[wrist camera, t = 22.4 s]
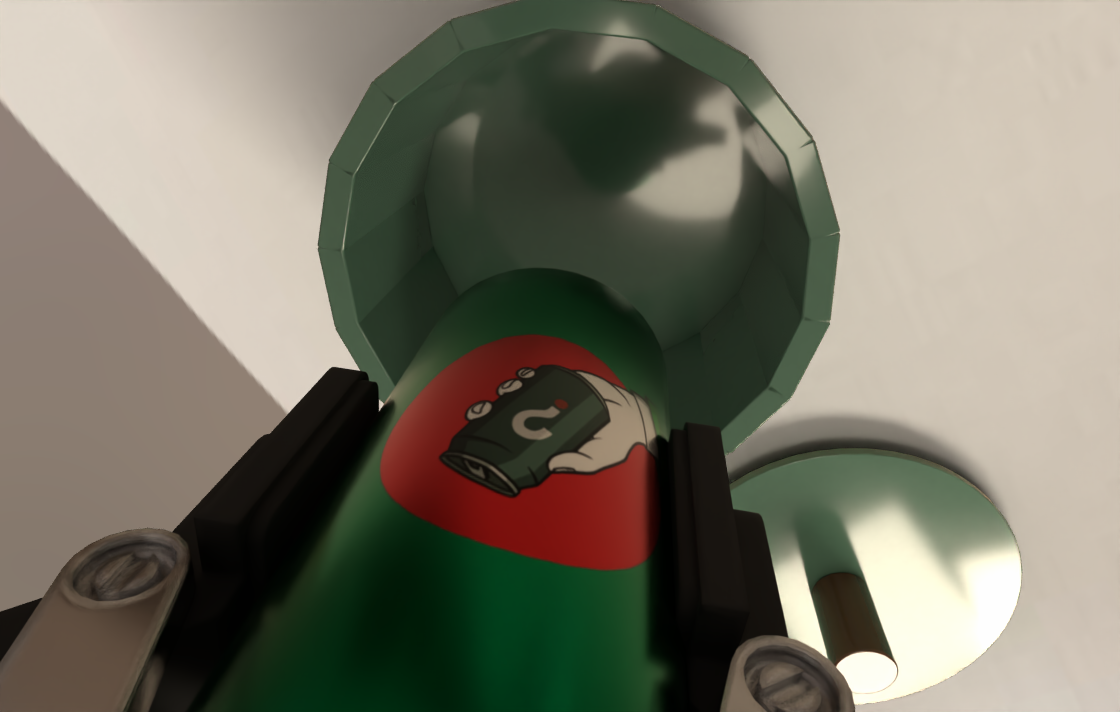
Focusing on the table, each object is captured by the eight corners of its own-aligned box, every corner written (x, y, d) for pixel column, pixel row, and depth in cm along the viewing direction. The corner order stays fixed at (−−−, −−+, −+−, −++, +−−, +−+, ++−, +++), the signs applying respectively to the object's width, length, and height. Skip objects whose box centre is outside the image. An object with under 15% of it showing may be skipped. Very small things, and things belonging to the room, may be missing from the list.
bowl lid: (706, 414, 31) (716, 491, 26) (1070, 471, 30) (1154, 563, 25) (647, 658, 38) (646, 756, 33) (941, 710, 37) (986, 819, 32)
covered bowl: (411, -23, 25) (302, -39, 17) (835, 29, 24) (920, 36, 16) (407, 347, 31) (326, 453, 24) (739, 398, 30) (766, 526, 23)
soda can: (393, 302, 15) (-258, 1077, 4) (620, 221, 13) (540, 1045, 3) (489, 487, 17) (220, 1343, 6) (696, 433, 15) (820, 1396, 5)
